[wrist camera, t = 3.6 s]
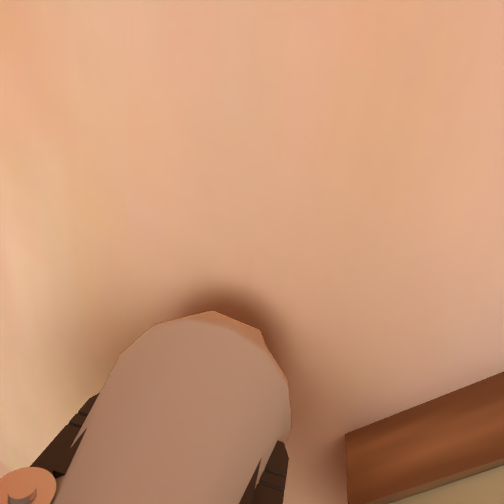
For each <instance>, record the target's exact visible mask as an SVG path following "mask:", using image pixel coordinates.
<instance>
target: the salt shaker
mask: <svg viewBox="0 0 504 504" xmlns="http://www.w3.org/2000/svg"><path fill="white" fill-rule="evenodd" d="M86 428H87V429H86ZM291 428H292V421H291V408H290V398H289V388H288V379H287V378H286V376H285V374H284V373H283V371H282V370H281V368H280V367H279V365H278V364H277V362H276V361H275V359H274V357H273V356H272V354H271V353H270V351H269V350H268V348H267V347H266V344H265V342H264V339H263V336H262V334H261V331H260V330H259V329H257V328H254V327H252V326H250V325H247V324H245V323H242V322H240V321H237V320H235V319H233V318H230V317H228V316H225V315H223V314H220V313H218V312H216V311H213V310H212V311H207V312H203V313H199V314H194V315H190V316H186V317H182V318H178V319H174V320H170V321H166V322H162V323H158V324H155V325H154V326H153V327H151V328H150V329H148V330H147V331H146V332H145V333H144V334H142V335H141V336H140V337H139V338H138V339H137V340H136V341H135V342H134V343H132V344H131V345H130V346H129V347H128V348H127V349H126V350H125V351H124V352H123V353H121V355H120V356H119V358H118V360H117V362H116V364H115V366H114V368H113V369H112V371H111V373H110V375H109V377H108V379H107V381H106V382H105V384H104V386H103V388H102V390H101V392H100V394H99V396H98V397H97V399H96V401H95V403H94V405H93V407H92V409H91V410H90V412H89V414H88V416H87V418H86V420H85V422H84V423H83V425H82V427H81V429H80V431H79V433H78V435H77V436H76V438H75V440H74V442H73V444H74V443H75V442H76V441H77V439H78V438H79V437H80V436H81V434H82V433H83V432H84V431H85V429H86V431H85V434H84V436H83V438H82V440H81V442H80V444H79V447H78V449H77V451H76V453H75V455H74V457H73V460H72V462H71V464H70V466H69V468H68V470H67V473H66V474H65V475H64V476H61V477H59V478H56V479H55V481H56V495H55V498H54V500H53V502H52V504H239V502H240V500H241V498H242V496H243V494H244V492H245V490H246V488H247V486H248V484H249V482H250V480H251V478H252V476H253V473H254V471H255V469H256V467H257V465H258V463H259V461H260V459H261V462H260V467H259V472H258V476H257V481H256V485H255V488H256V486H257V484H258V483H259V479H260V477H261V475H262V473H263V471H264V470H265V466H266V464H267V462H268V460H269V457H270V455H271V453H272V451H273V449H274V447H275V444H276V442H277V440H278V441H282V442H284V445H285V443H286V440H287V438H288V435H289V433H290V430H291ZM73 444H72V446H73ZM72 446H71V447H72ZM261 457H262V458H261Z"/></svg>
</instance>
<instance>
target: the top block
mask: <svg viewBox="0 0 504 504" xmlns="http://www.w3.org/2000/svg"><path fill="white" fill-rule="evenodd" d="M389 504H504V465H503V466H500V467H497V468H494V469H491V470H488V471H485V472H482V473H479V474H476V475H473V476H470V477H467V478H464V479H461V480H458V481H455V482H452V483H449V484H446V485H443V486H440V487H437V488H434V489H431V490H428V491H425V492H422V493H419V494H416V495H413V496H410V497H407V498H404V499H401V500H398V501H395V502H392V503H389Z"/></svg>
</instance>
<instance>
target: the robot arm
mask: <svg viewBox="0 0 504 504" xmlns="http://www.w3.org/2000/svg"><path fill="white" fill-rule="evenodd" d="M99 394H100V393H98V394H97V395H95V396H93V397H91V398H90V399H89V400H88V401H87V402H86V403H85V404H84V405H83V407H82V408H81V409H80V410H79V411H78V414H76V415H75V416H74V417H73V418H72V419H71V420H70V421H69V424H68V425H66V426H65V427H64V428H63V429H62V431H61V432H60V433H59V434H58V435H57V436H56V437H55V439H54V440H53V441H52V442H51V443H50V444H49V445H48V447H47V448H46V449H45V450H44V451H43V452H42V453H41V455H40V456H39V457H38V458H37V459H36V460H35V461H34V463H33V464H32V465H31V466H30V467H26V468H21V469H18V470H15V471H12V472H10V473H8V474H7V475H5V476H3V477H2V478H1V479H0V504H52V502H53V500H54V498H55V495H56V481H55V479H56V478H59V477H61V476H64V475H65V474H66V473H67V470H68V468H69V466H70V464H71V462H72V460H73V457H74V455H75V453H76V451H77V449H78V447H79V444H80V442H81V440H82V438H83V436H84V434H85V431H86V429H87V428H86V429H85V431H84V432H83V433H82V434H81V436H80V437H79V438H78V439H77V441H76V442H75V443H74V444H73V442H74V440H75V438H76V436H77V435H78V433H79V431H80V429H81V427H82V425H83V423H84V422H85V420H86V418H87V416H88V414H89V412H90V410H91V409H92V407H93V405H94V403H95V401H96V399H97V397H98V396H99ZM72 444H73V446H72ZM71 446H72V447H71ZM261 458H262V457H261ZM288 460H289V458H288V455H287V451H286V448H285V445H284V442H282V441H278V440H277V442H276V444H275V447H274V449H273V451H272V453H271V455H270V457H269V460H268V462H267V464H266V466H265V470H264V471H263V473H262V475H261V477H260V479H259V483H258V484H257V486H256V488H255V485H256V481H257V476H258V472H259V467H260V462H261V459H260V461H259V463H258V465H257V467H256V469H255V471H254V473H253V476H252V478H251V480H250V482H249V484H248V486H247V488H246V490H245V492H244V494H243V496H242V498H241V500H240V502H239V504H283V497H284V489H285V482H286V475H287V467H288Z"/></svg>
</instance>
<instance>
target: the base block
mask: <svg viewBox="0 0 504 504" xmlns="http://www.w3.org/2000/svg"><path fill="white" fill-rule="evenodd" d="M345 440H346V467H347V494H348V504H389V503H392V502H395V501H398V500H401V499H404V498H407V497H410V496H413V495H416V494H419V493H422V492H425V491H428V490H431V489H434V488H437V487H440V486H443V485H446V484H449V483H452V482H455V481H458V480H461V479H464V478H467V477H470V476H473V475H476V474H479V473H482V472H485V471H488V470H491V469H494V468H497V467H500V466H503V465H504V372H502V373H499V374H497V375H494V376H492V377H489V378H487V379H484V380H482V381H479V382H476V383H474V384H471V385H469V386H466V387H464V388H461V389H459V390H456V391H454V392H451V393H449V394H446V395H443V396H441V397H438V398H436V399H433V400H431V401H428V402H426V403H423V404H421V405H418V406H416V407H413V408H410V409H408V410H405V411H403V412H400V413H398V414H395V415H393V416H390V417H388V418H385V419H383V420H380V421H377V422H375V423H372V424H370V425H367V426H365V427H362V428H360V429H357V430H355V431H352V432H350V433H347V434H345Z"/></svg>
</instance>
